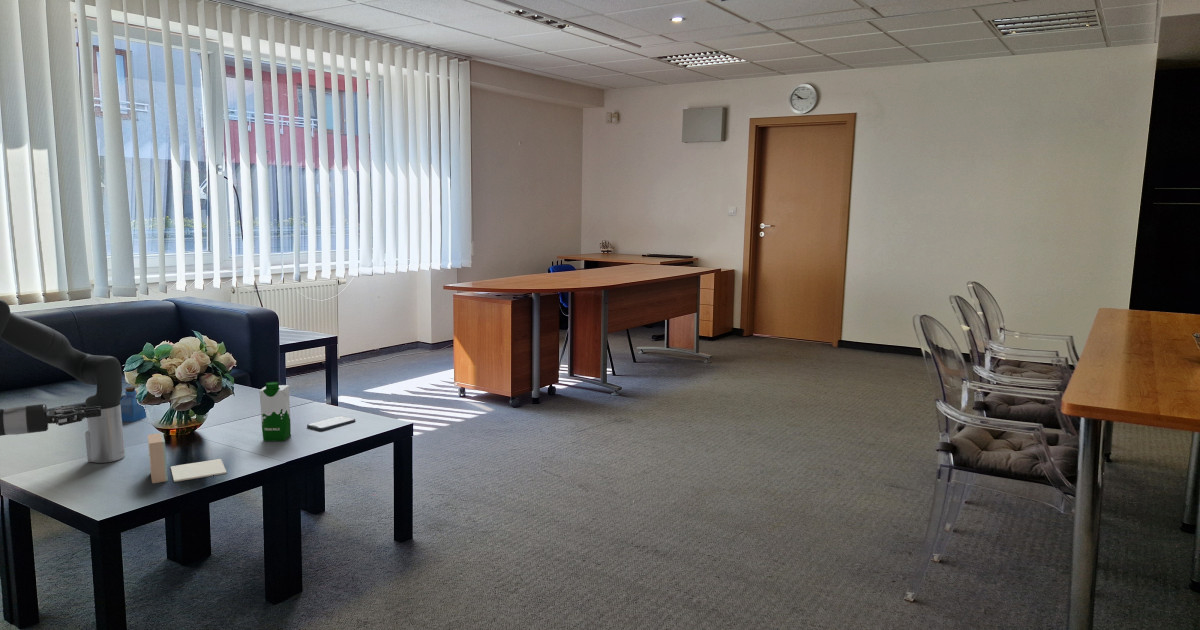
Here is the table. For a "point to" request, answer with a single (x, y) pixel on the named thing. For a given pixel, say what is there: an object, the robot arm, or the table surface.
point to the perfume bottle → (131, 406)
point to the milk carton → (275, 412)
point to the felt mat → (198, 470)
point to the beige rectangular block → (157, 458)
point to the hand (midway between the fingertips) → (100, 411)
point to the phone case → (330, 423)
